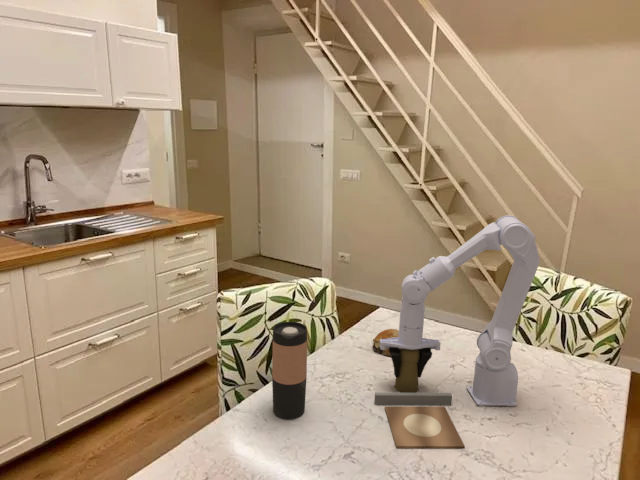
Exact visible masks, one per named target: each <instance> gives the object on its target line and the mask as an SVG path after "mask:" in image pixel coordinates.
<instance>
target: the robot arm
mask: <svg viewBox="0 0 640 480" xmlns="http://www.w3.org/2000/svg"><path fill="white" fill-rule="evenodd" d="M501 246H503V247H504V248H505V249H507V251H508V253H509V254H510V256H511V257H512V259H513V262H512V264H511V267H510V271H509V273H508V275H507V278H506V281H505V283H504V286H503V289H502V291H501V294H500V297H499V300H498V302H497V304H496V307H495V310H494V313H493V315H492V318H491V320H490V322H488V323H487V324H486V326H485V327H484V330H483V331H482V332H480V333H479V335H478V336H477V338H476V346H477V348H478V349H479V353H478V355H477V356H476V357H475V358H476V359H475V364H474V365H475V366H474V374H473V383H472V385H467V386H466V390H467V391H468V393H469V395H470V396H471V399H473V401H474V403H475V404H476V405H477V406H480V407H481V406H483V407H484V406H485V407H486V406H493V407H494V406H495V407H496V406H498V407H499V406H501V407H502V406H503V407H504V406H505V407H508V406H509V407H514V406H515V407H516V406H517V403H516V398H517V393H518V391H517V390H518V385H519V384H518V383H519V373H518V369H517V367H516V365H515V364H514V363H513V362H511V361H512V355H511V350H512V347H513V335H514V334H513V333H514V330H515V327H516V324H517V322H518V320H519V319H518V318H520V317H519V316H520V314H521V312H522V309H523V307H524V304H525V302H526V299H527V296H528V293H529V291H530V288H531V286H532V283H533V281H534V278H535V277H536V273H537V271H538V268H539V265H540V262H541V259H540V255H539V251H538V248H537V247H538V246H537V243H536V235H535V234H534V233H533V232H532V230H531V229H530V227H528V225H526V224H525V223H523V222H521V221H520V220H519V218H517V217H516V216H514V215H502V216H501V217H499V218H497V220H496V221H495V222H493V221H492V222H491V223H489V224H488V225H486V226H485V227H484V228H483V229H481V230H480V231H479V232H477V233H476V234H474V235H473V236H472V237H471V238H470V239H468V240H467V241H466V242H464V243H463V244H461V246H459V247H458V248H457V249H455V250H454V251H453V252H452V253H450V254H448V255H447V256H446V255H445V256H443V255H439V256H437V257H434V256H433V257H431V258H429V263H427V264H426V265H424V266H423V267H421V268H419V270H417V269H415V270H414V271H412V274H411V273H410V274H408V275H407V276H405V277H404V278H403V280H402V283H401V295H402V297H401V299H400V300H401V303H400V309H399V323H398V324H399V325H398V326H399V327H398V331H399V337H395V338H388V339H380V349H381V350H385V349H388V350H389V352H390V355H391V356H390V357H391V360H392V365H393V366H392V367H393V373H394V377H395V378H396V377H399V363H400V358H401V355H400V351H399V349H411V350H415V349H419V352H420V357H419V360H418V361H417V367H418V378H422V375H423V371H424V370H425V367H426V365H427V364H428V362H429V361H430V359H431V358H432V356H433V352H432V350H435V351H441V345H442V344H441V341H440V340H439V339H432V338H425V337H423V336H424V335H423V334H424V322H425V312H426V311H425V310H426V308H425V301H426V299H427V298H428V294H429V293H430V292H433V291H435V290H436V289H438V288H439V287H440V286H441V285H443V284H445V283H446V282H447V281H449V280H451V279H452V278H453V277H455V273H456V270H457V268H459V267H460V266H462V265H464V264H466V262H468V261H470V260H472V259H474V258H476V256H478V255H480V254H481V253H483V252H485V251H502V247H501Z"/></svg>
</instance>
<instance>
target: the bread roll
mask: <svg viewBox="0 0 640 480" xmlns="http://www.w3.org/2000/svg"><path fill="white" fill-rule="evenodd" d="M395 337H399V329H397V328H387V329H383V330H382V331H380V332H379V333H378V334H376V336H375V338H373V339H372V341H373V343H372V344H373V345H372V349H373V350H375V352H376V353H377V354H380V355H383V356H386V357H387V356H388V357H391V355H390V352H389V350H388V349H385V350H381V349H380V339H388V338H395Z"/></svg>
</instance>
